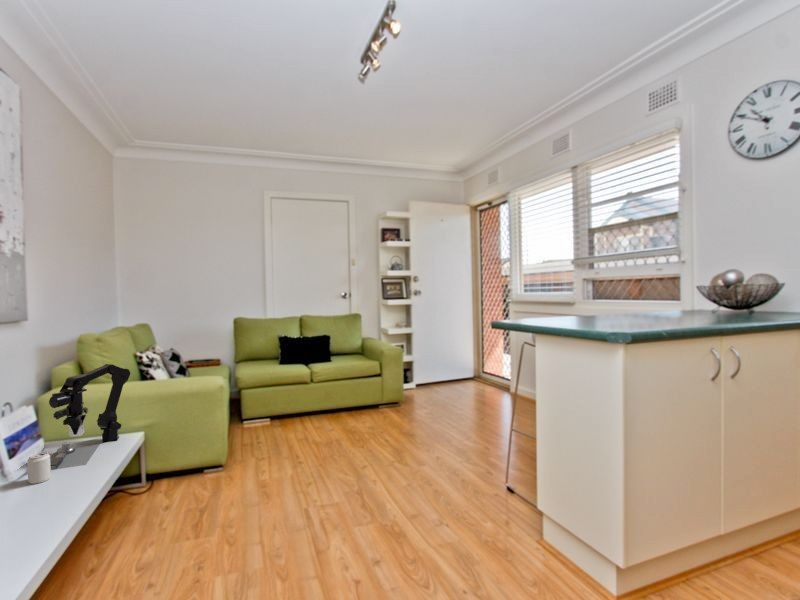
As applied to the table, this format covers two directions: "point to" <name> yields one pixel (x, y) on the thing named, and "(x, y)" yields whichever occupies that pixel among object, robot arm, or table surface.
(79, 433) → the socket
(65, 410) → the robot arm
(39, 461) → the can
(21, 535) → the table surface
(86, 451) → the mat
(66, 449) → the ratchet
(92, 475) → the table surface
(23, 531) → the table surface
